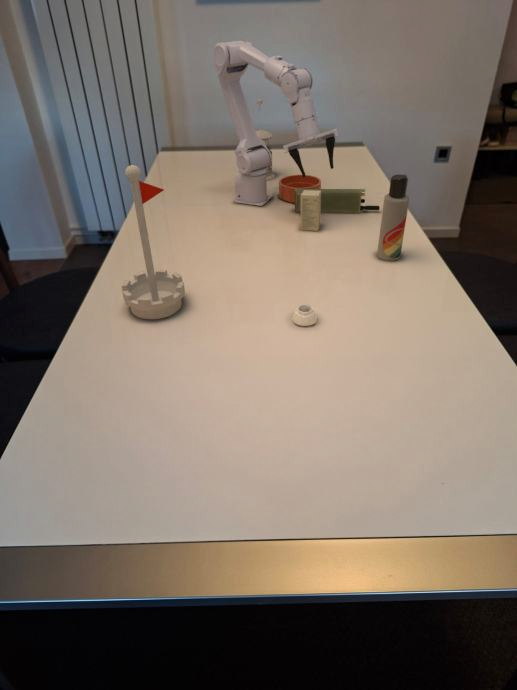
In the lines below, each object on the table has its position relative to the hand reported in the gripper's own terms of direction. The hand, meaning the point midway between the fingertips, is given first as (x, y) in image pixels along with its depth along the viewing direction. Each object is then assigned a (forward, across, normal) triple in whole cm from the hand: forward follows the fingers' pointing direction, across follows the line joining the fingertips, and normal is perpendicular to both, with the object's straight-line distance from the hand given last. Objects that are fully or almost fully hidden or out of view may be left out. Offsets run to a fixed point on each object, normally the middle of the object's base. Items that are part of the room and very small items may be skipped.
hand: (318, 172), depth 133 cm
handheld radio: (+13, +3, +12) cm, 18 cm away
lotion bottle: (+24, +12, -16) cm, 31 cm away
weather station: (-3, -19, +45) cm, 49 cm away
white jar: (+26, -10, -45) cm, 52 cm away
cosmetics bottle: (+14, -6, +1) cm, 15 cm away
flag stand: (+15, -41, -40) cm, 59 cm away
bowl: (+6, -7, +24) cm, 26 cm away
